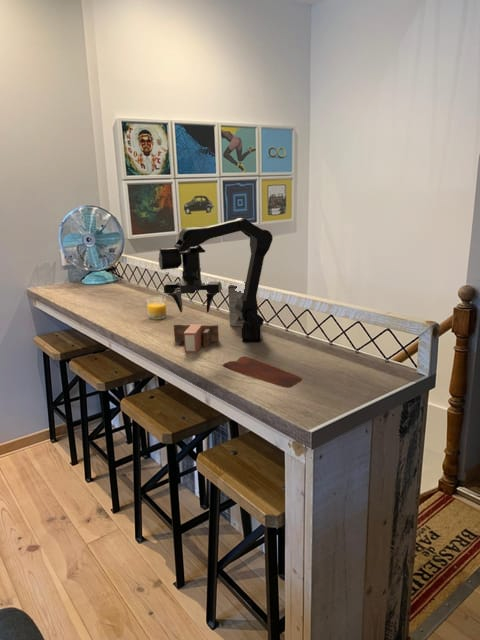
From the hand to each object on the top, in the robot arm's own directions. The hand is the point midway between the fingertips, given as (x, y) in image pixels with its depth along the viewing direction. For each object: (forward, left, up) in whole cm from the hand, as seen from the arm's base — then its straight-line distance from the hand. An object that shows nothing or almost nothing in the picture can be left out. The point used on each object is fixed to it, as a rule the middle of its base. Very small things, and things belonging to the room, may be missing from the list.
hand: (194, 312), depth 167 cm
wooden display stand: (+2, -5, -13) cm, 14 cm away
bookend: (+5, -5, -13) cm, 15 cm away
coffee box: (-10, -30, -13) cm, 34 cm away
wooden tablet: (-25, +20, -14) cm, 35 cm away
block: (+1, 0, -13) cm, 13 cm away
